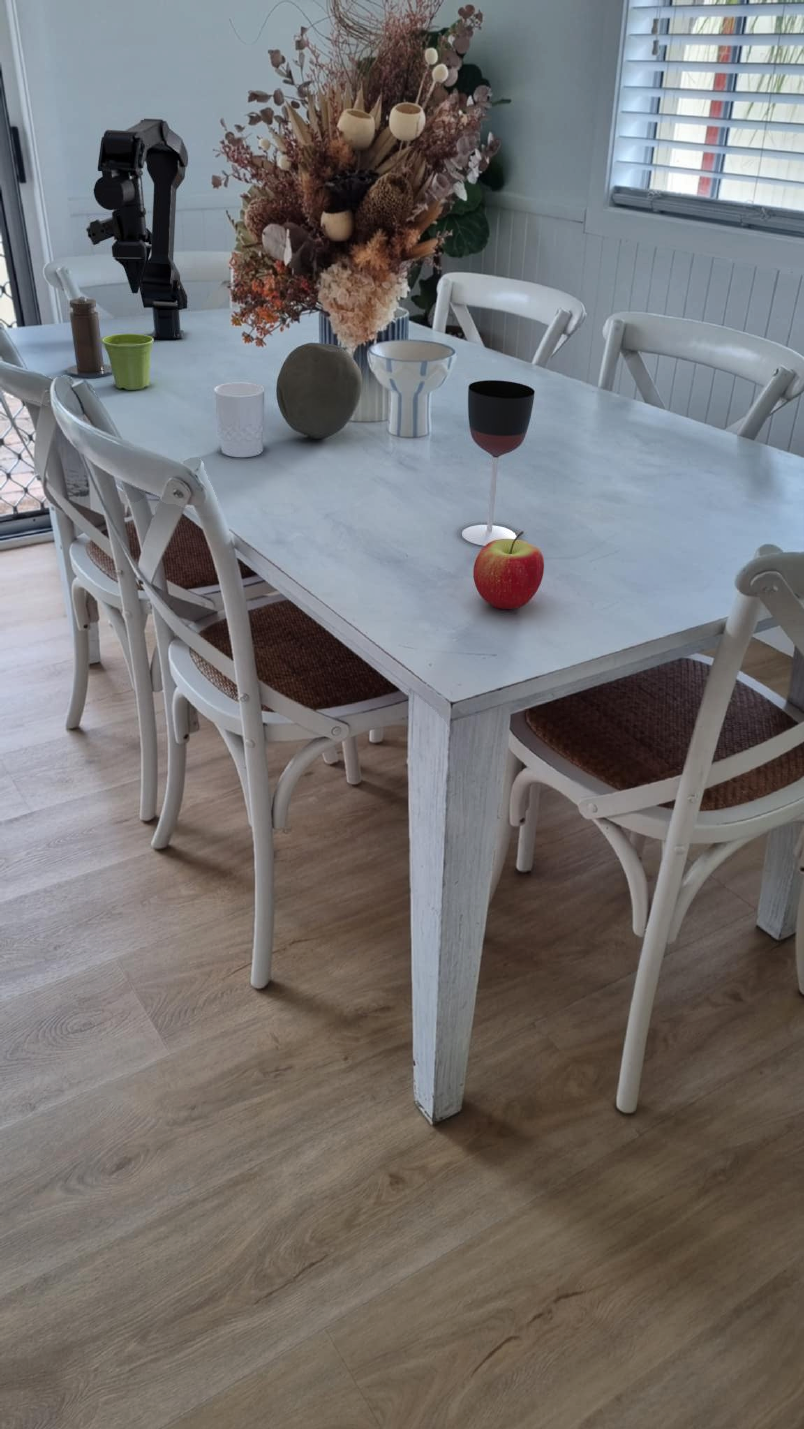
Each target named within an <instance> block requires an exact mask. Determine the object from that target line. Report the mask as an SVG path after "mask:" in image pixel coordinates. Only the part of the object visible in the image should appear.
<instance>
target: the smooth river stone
mask: <svg viewBox="0 0 804 1429" xmlns="http://www.w3.org/2000/svg"><path fill="white" fill-rule="evenodd" d="M278 373H279V374H278V376H277V380H276V388H275V390H276V392H275V393H276V395H275V396H276V401H277V406H278V408H279V411H280V413H281V415H282V417H283V419H284V420H285V423H287V424H288V426H289V427H290V428H291V429H292V430H293V431H295V432H296V433H300V434H302V435H304V436H306V437H308V438H311V439H314V440H322V439H326V438H329V437H331V436H333V435H335V434H337V433H338V432H340V431H341V430H342V429H343V428H344V427H346V425H347V424H349V421H351V419H352V417H353V416H354V413H355V411H356V409H357V407H358V405H359V402H360V399H361V395H362V391H363V375H362V372H361V369H360V367H359V365H358V363H357V362H356V360H355V359H354V357H353V356H352V355H351V353H349V352H348V351H347V350H346V349H344V348H343V347H340V346H339V345H335V344H333V343H322V342H307V343H304V344H301V345H299V346H297V347H295V349H292V351H291V352H290V353H289V354H288V355H287V357H286V358H285V360H284V362H283V364H282V366H281V368H280V371H279V372H278Z"/></svg>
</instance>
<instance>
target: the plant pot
mask: <svg viewBox="0 0 804 1429" xmlns="http://www.w3.org/2000/svg"><path fill="white" fill-rule="evenodd" d="M154 341H155V339H153V338H152V336H150V335H147V334H141V333H116V334H110V335H108V336H104V337H102V338H101V344H102V345H104V349H105V352H107V356H108V359H109V364H110V366H111V368H112V372H113V373H112V376H113V379H114V383H115V387H116V388H118V389H125V390H128V391H134V390H142V389H144V388H145V387H147V388H148V387H149V386H150V366H151V365H150V364H151V363H150V362H151V350H152V347H153V346H152V345H153V343H154Z"/></svg>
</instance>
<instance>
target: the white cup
mask: <svg viewBox="0 0 804 1429" xmlns="http://www.w3.org/2000/svg"><path fill="white" fill-rule="evenodd" d="M213 395H214V405H215V415H216V422H217V429H218V436H219V440H220V441H219V442H220V450H221V453H222V454H223V455H225V456H227V457H232V458H251V457H255V456H259V455H261V454H262V453H263V451H264V434H265V388H264V387H263V386H262V385H261V384H260V385H259V384H256V383H252V382H241V381H240V382H239V381H237V382H227V383H222V384H219V385H217V386H215V387H214V388H213Z"/></svg>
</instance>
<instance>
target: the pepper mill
mask: <svg viewBox="0 0 804 1429" xmlns="http://www.w3.org/2000/svg"><path fill="white" fill-rule="evenodd" d="M68 304H69V308H71V310H72V311H71V312H69V318H70V319H69V320H70V327H71V334H72V343H73V350H74V358H75V365H76V366H77V370H78V371H81V372H98V371H102V370H103V369H104V362H105V361H104V355H103V347H102V346H103V344H102V338H101V329H100V328H101V327H100V320H99V312H98V311H95V308H96V307H97V303H96V300H95V299H92V298H86V297H84V296H79V297H78V298H74V299H70V300H69V302H68Z"/></svg>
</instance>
